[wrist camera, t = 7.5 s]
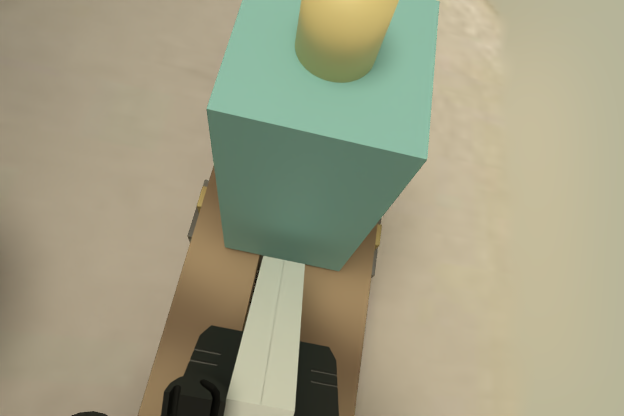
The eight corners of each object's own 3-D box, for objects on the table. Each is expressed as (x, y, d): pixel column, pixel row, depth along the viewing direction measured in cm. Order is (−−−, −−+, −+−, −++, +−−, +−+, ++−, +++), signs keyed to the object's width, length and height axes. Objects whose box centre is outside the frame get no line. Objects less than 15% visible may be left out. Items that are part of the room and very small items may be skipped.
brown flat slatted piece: (312, 628, 18) (334, 707, 14) (95, 594, 18) (44, 664, 13) (389, 51, 31) (413, -8, 27) (265, 20, 31) (268, -45, 26)
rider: (333, 278, 20) (468, 106, 8) (225, 256, 20) (198, 41, 8) (348, 183, 22) (474, -70, 10) (250, 162, 22) (260, -127, 10)
